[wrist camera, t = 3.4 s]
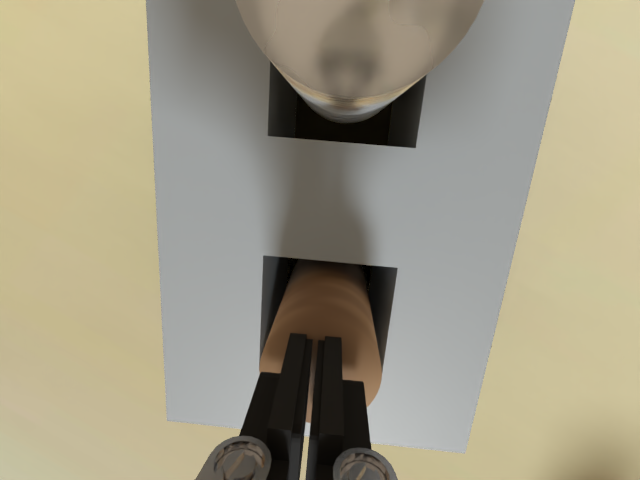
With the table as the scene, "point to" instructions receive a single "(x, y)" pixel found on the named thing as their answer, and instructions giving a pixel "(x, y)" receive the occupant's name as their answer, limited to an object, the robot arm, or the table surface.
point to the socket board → (343, 210)
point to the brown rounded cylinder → (327, 322)
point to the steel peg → (356, 47)
